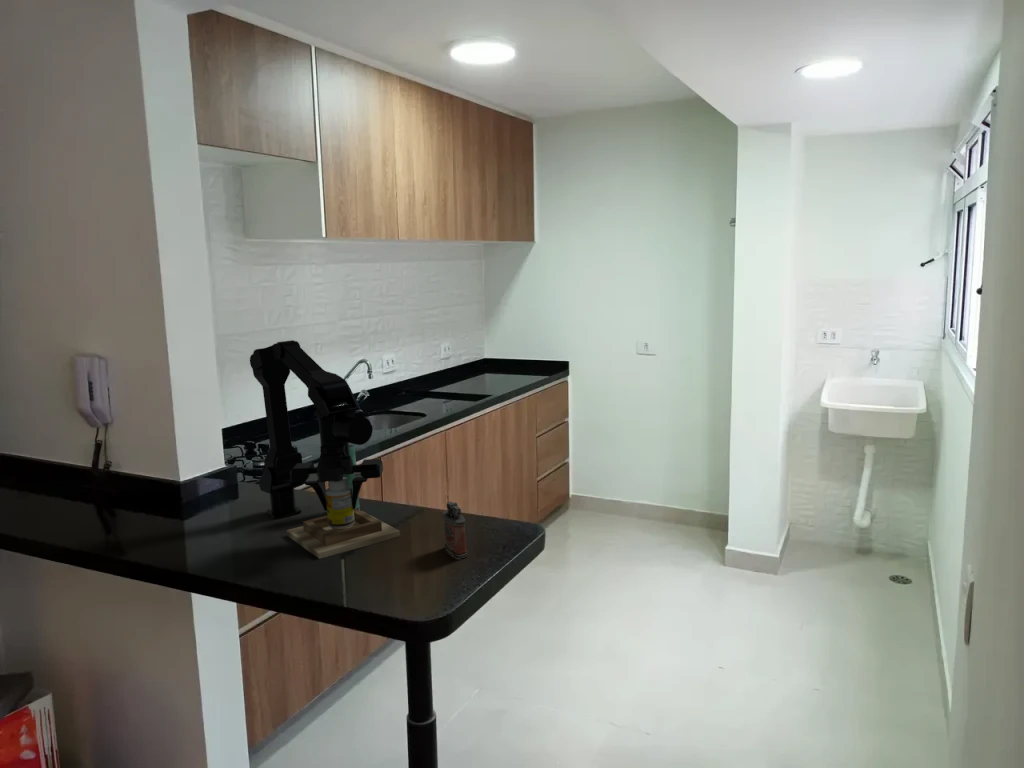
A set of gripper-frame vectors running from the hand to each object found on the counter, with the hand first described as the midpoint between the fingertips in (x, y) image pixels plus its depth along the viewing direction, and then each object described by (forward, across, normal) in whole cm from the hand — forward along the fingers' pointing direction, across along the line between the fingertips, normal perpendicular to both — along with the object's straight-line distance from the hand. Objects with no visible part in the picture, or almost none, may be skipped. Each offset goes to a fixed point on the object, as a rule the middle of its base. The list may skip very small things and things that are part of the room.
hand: (340, 509), depth 160 cm
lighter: (+6, +25, -14) cm, 29 cm away
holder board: (+6, 0, 0) cm, 6 cm away
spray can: (+6, -2, +17) cm, 18 cm away
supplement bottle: (+4, 0, 0) cm, 4 cm away
